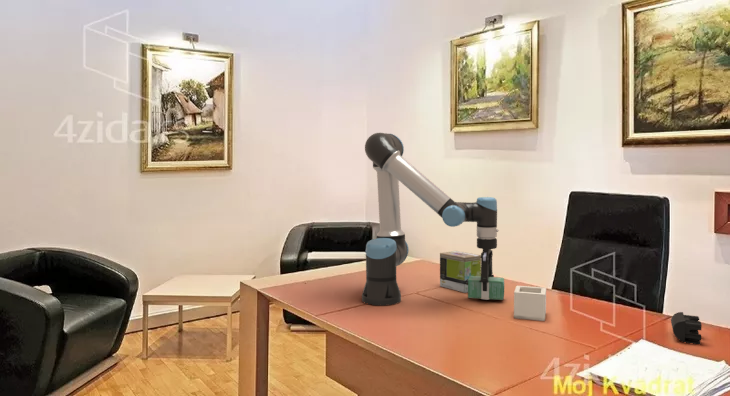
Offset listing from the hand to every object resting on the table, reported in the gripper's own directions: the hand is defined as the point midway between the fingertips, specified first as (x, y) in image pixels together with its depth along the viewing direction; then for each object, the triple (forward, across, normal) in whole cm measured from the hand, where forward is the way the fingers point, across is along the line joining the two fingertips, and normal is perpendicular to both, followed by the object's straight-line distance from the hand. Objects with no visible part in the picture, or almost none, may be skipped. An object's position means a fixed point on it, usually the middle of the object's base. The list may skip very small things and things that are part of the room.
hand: (486, 296), depth 203 cm
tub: (+1, -16, -17) cm, 23 cm away
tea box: (+2, +15, +13) cm, 20 cm away
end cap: (+2, -25, -62) cm, 67 cm away
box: (0, 0, 0) cm, 0 cm away
